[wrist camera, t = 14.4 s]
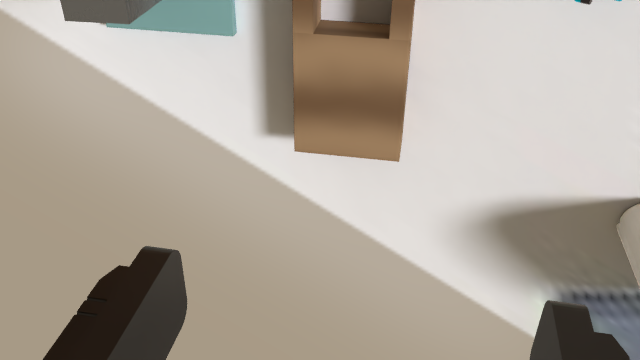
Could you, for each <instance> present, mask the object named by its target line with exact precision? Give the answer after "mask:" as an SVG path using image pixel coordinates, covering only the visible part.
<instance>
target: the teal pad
mask: <svg viewBox="0 0 640 360" xmlns="http://www.w3.org/2000/svg"><path fill="white" fill-rule="evenodd" d="M106 26H107V27H113V28H126V29H140V30H154V31H168V32H181V33H195V34H209V35H223V36H234V35H235V34H236V19H235V4H234V0H162V1H160V2H159V3H158V4H156V5H155V6H153V7H152V8H151V9H149V10H148V11H147V12H145V13H144V14H143V15H141V16H140V17H139V18H137V19H136V20H135V21H133V22H132V23H130V24H114V23H106Z"/></svg>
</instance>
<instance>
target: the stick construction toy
mask: <svg viewBox="0 0 640 360" xmlns="http://www.w3.org/2000/svg"><path fill="white" fill-rule="evenodd" d="M616 1H622V0H616ZM575 2H580V3H584V4H591V2H592V0H575Z"/></svg>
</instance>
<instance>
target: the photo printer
mask: <svg viewBox="0 0 640 360" xmlns="http://www.w3.org/2000/svg"><path fill="white" fill-rule="evenodd" d="M616 228H617V232H618V235H619V237H620V240H621V242H622V245H623V247H624V250H625V252H626V255H627V257H628V260H629V262H630V265H631V268H632V270H633V273H634V275H635V278H636V280H637V283H638V286H639V288H640V204H637V205H635V206H633V207H631V208H629V209H628V210H627V211H626V212H624V214H623V215H622V216H621V218H620V223H619V224H617V225H616Z"/></svg>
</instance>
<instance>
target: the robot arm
mask: <svg viewBox="0 0 640 360" xmlns="http://www.w3.org/2000/svg"><path fill="white" fill-rule="evenodd" d="M186 310H187V296H186V289H185V282H184V275H183V268H182V261H181V255H180V253H179V251H178V250H172V249H165V248H157V247H150V246H145V247H143V248H142V249H141V250H140V252H139V253H138V255H137V256H136V258H135V259H134V261H133V262H132V264H131V265H130V267H127V266H120V265H119V266H118V267H116V268H115V269H114V270H112V271H111V272H109V273H108V274H107V275H105V276H104V277H102V278H101V279H100V280H99V281H98V283H97V284H96V285H95V287H94V288H93V290H92V291H91V292H90V294H89V295H88V297H87V300H85V301H84V302H83V304H82V305H81V306H80V308H79V309H78V311H77V315H74V316H73V318H72V319H71V321H70V322H69V323H68V325H67V326H66V328H65V329H64V330H63V332H62V333H61V335H60V336H59V337H58V339H57V340H56V342H55V343H54V345H53V346H52V347H51V349H50V350H49V351H48V353H47V354H46V356H45V357H44V358H43V360H166V358H167V356H168V354H169V352H170V350H171V348H172V346H173V344H174V342H175V340H176V338H177V336H178V334H179V332H180V330H181V328H182V325H183V323H184V320H185V315H186ZM530 360H630V359H629V356H628V355H627V353H626V352H625V351H624V349H623V348H622V347H621V346H620V344H619V343H618V342H617V341H616V339H615V338H614V337H613V336H612V334H605V333H597V332H594V330H593V326H592V322H591V319H590V315H589V311H588V308H587V307H586V306H585V305H581V304H573V303H565V302H558V301H550V300H548V301H547V302H546V303H545V305H544V308H543V312H542V315H541V319H540V322H539V325H538V329H537V332H536V336H535V339H534V342H533V346H532V349H531V354H530Z"/></svg>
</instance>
